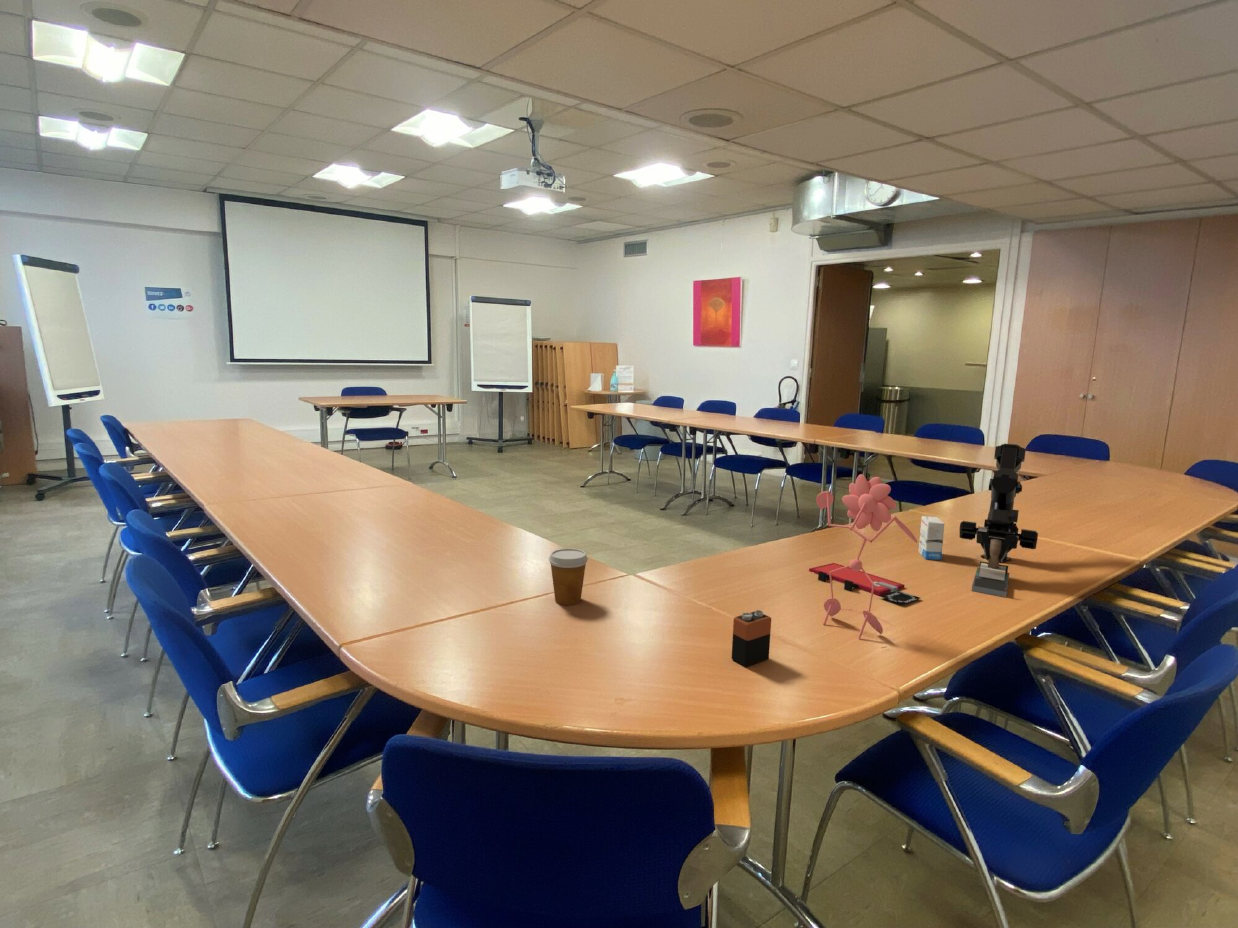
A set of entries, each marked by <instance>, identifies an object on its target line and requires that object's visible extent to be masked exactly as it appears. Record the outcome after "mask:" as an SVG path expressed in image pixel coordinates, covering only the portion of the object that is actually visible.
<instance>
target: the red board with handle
mask: <svg viewBox="0 0 1238 928" xmlns="http://www.w3.org/2000/svg"><path fill="white" fill-rule="evenodd" d="M842 567H845V565H843V564H839V563H835V562H832V563H827V564H824V565H819V566H815V567H810V568H809V569H808V571H809V573H812V572H814V573H813V574H815V575H817V581H819V582H822V583H825V582H826V581H827V580H830V575H829V572H830V571H832V570H836V569H839V568H842ZM866 573H867V575H868V576H869V577H870V579H871V580H872V581H873V583H874V591H873V595H877V596H879V597H881V598H884V599H886V600H889V601H891V602H895V603H898V604H901V605H903V604H907V603H910V602H913V601H916V600H919V599H921V597H919V596H917V595H913V594H910V593H907V592H903V591H901V590H902V589H905V584H904V583H901V582H897V581H894V580H890V579H888V578H884V577H882V576H877V575H874V574H871V573H869V572H866ZM831 578H832V581H835V582H838V583H841V584H843V585H844V587H843V590H844V591H848V592H852V591H853V588H855V589H859V590H862V591H865V592H868V593H872V586H873V584H872V583H871V581H870V580H869V579H868V577H867V576H866V575H865V573H864V572H863V571H862V570H859V571H854V570H852V569H851V568H850V567H847V568H844V569H841V570H838V571H834V572H831Z"/></svg>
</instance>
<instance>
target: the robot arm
mask: <svg viewBox="0 0 1238 928" xmlns="http://www.w3.org/2000/svg"><path fill="white" fill-rule="evenodd" d="M1026 450H1027V449H1026V448H1024V447H1021V446H1020V445H1019V444H1014V443H1001V445H996V446H995V449H994V455H993V456H994V457H993V458H994V460H996V463H995V467H996V468H997V470H996V471H994V473H993V476H992V478H990V479H989V483H988V491H991V492H990V504H989V511H988V514H987V518H985V519H984V525H983V526H977V522H975V521H966V520H961V522H959V523H960V524H959V538H960V539H962V540H969V541H972V540H974V539H975V538H976V543H977V544H980V546H981V549H983V553H984V554H981V555H980V558H983V559H986V561H988V559H989V551H990V543H991V539H998V540H1001V541H1002V544H1001V552H1000V559H999V564H1000V563H1004V562H1008V561H1011V560H1012V559H1013V557H1009V556H1008V554H1009V553H1010V552H1011V551H1012V550H1016V549H1017V548H1018V543H1019V546H1020V547H1021V548H1023V549H1028V550H1037V549H1036V548H1037V544H1038V537H1039V533H1038V532H1037V530H1032V529H1026V528H1021V529H1020V533H1019V528H1018V525H1017V523H1018V519H1019V512H1020V511H1019V510H1018V509H1014V504H1015V497H1016V496H1017V494H1020V493H1021V492H1022V491H1023V485H1022V483H1021V481H1018V479H1019V474H1018V473H1017V472H1019V471H1020V470H1021V469H1022V463H1025V459H1026V452H1027V451H1026Z"/></svg>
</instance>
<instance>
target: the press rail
mask: <svg viewBox="0 0 1238 928" xmlns="http://www.w3.org/2000/svg"><path fill="white" fill-rule="evenodd" d="M981 563H985V564H988V561H987V562H986V561H979V567H976V570H975V571H976V572H975V574H974V578H973V581H972V584H971V592H975V593H980V594H981V593H982V594H985V595H992V596H998V597H1001V598H1002V597H1003V598H1007V594H1008V588H1009V579H1010V572H1008V571H1009V565H1004V564H1000V563H999V566H1003V567H1006V571H1005V578H1004V581H1002V580H997V579H991V578H985V577H980V576H979V572H980V566H981Z"/></svg>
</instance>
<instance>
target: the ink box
mask: <svg viewBox="0 0 1238 928" xmlns="http://www.w3.org/2000/svg"><path fill="white" fill-rule="evenodd" d="M920 521H921V522H920V531H919V532H920V533H919V543H918V553H919V554H920V555H921V556H922V557H923V558H924V559H925V560H932V561H933V560H935V561H942V558H943V557H942V555H943V545H944V534H945V523H944V522H943V521H942V520H941V519H940V518H939V517H937V516H925V515H922V516H921V520H920Z"/></svg>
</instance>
